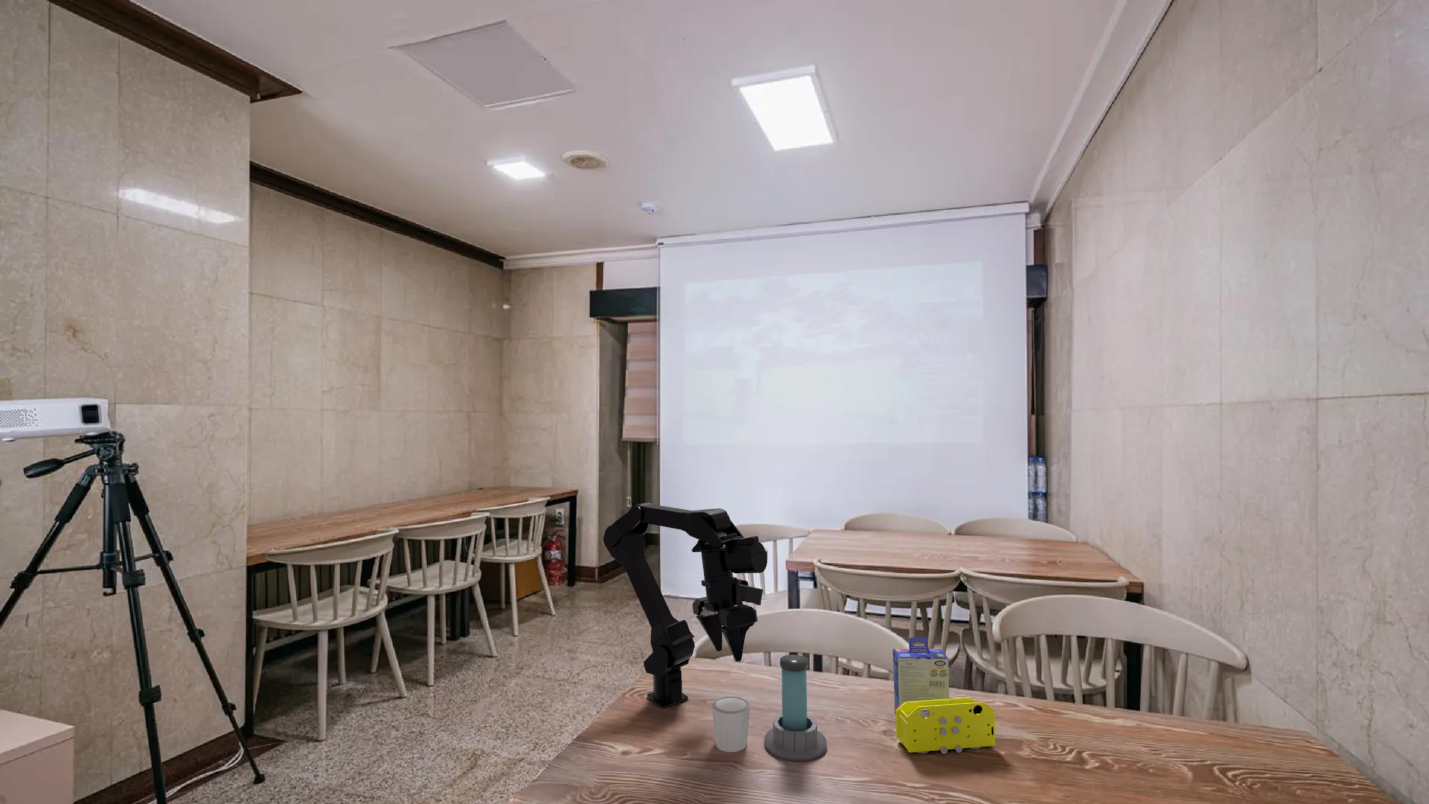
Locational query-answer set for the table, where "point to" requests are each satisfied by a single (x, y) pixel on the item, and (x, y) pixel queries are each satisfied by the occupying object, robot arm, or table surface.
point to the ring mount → (795, 741)
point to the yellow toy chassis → (945, 725)
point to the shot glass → (731, 723)
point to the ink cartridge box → (920, 673)
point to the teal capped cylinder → (794, 692)
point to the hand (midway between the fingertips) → (728, 655)
